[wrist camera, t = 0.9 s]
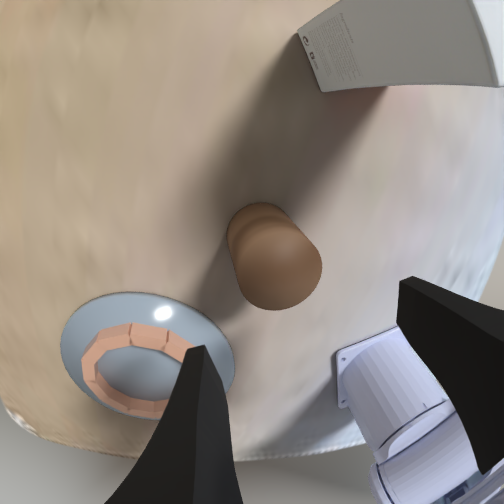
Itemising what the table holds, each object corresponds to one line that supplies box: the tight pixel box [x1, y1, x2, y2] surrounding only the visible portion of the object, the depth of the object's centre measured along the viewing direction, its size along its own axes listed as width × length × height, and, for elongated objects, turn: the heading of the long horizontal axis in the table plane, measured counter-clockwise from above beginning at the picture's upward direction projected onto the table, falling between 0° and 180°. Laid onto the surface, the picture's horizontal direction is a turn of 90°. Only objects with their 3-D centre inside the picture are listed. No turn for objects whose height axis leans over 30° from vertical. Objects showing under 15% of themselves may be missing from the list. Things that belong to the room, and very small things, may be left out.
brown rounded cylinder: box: [227, 203, 322, 310], centre depth 16 cm, size 4×4×5 cm
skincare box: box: [297, 0, 504, 92], centre depth 9 cm, size 6×4×12 cm
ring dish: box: [60, 292, 235, 420], centre depth 20 cm, size 14×14×2 cm
